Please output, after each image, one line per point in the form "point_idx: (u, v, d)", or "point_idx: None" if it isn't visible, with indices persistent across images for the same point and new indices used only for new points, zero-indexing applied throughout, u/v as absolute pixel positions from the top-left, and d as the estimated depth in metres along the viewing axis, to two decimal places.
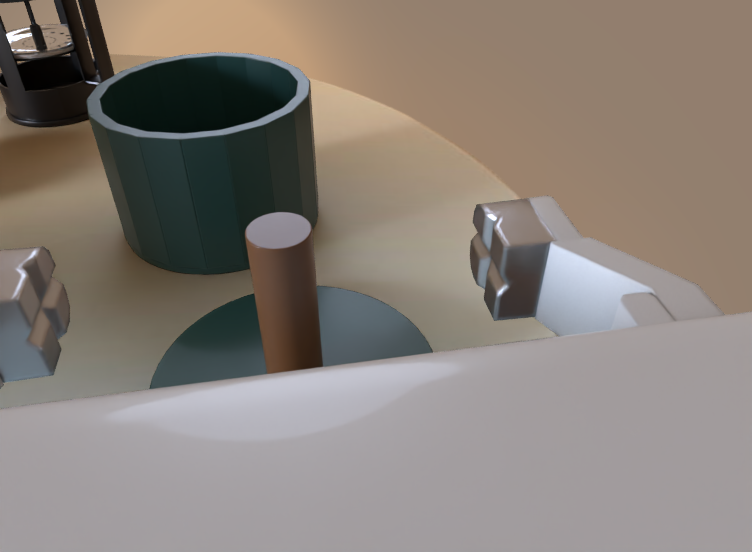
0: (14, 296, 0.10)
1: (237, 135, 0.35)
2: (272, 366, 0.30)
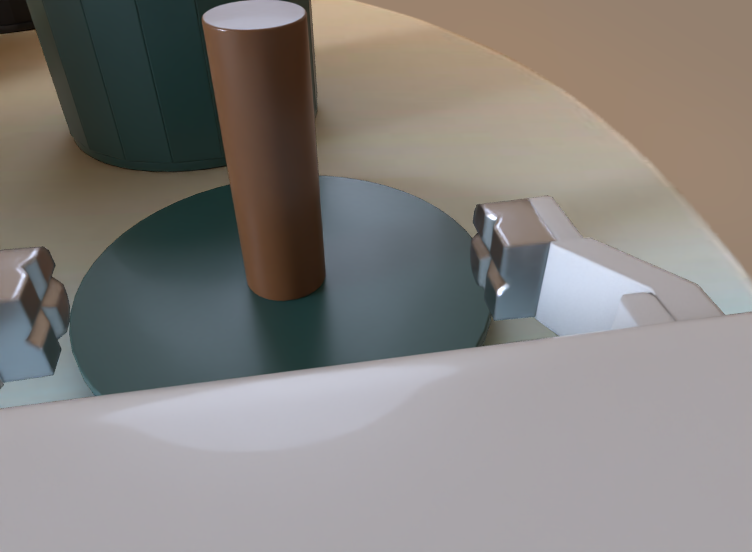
0: (14, 297, 0.10)
1: None
2: (250, 252, 0.21)
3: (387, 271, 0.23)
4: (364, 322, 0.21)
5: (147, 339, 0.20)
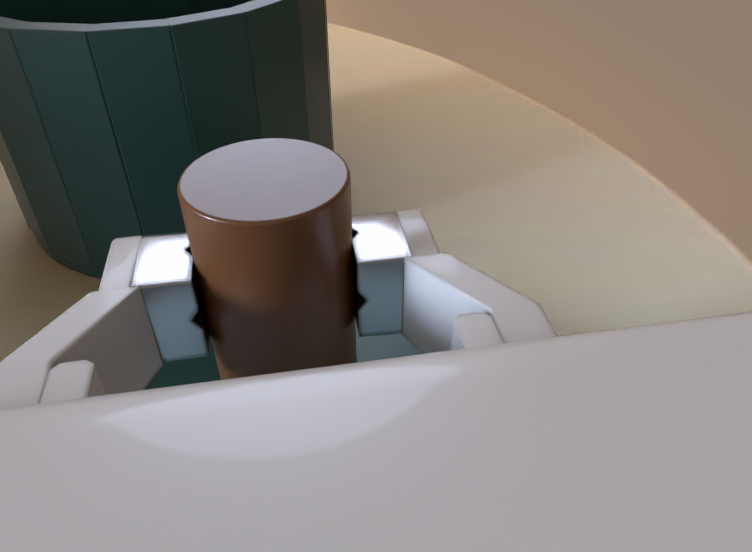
0: (187, 279, 0.10)
1: (195, 29, 0.19)
2: None
3: None
4: None
5: None
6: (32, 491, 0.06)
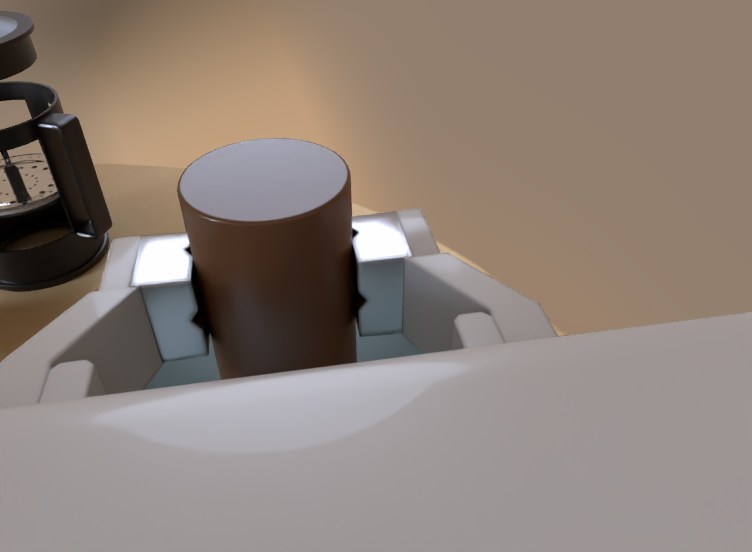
0: (187, 279, 0.10)
1: None
2: None
3: None
4: None
5: None
6: (32, 491, 0.06)
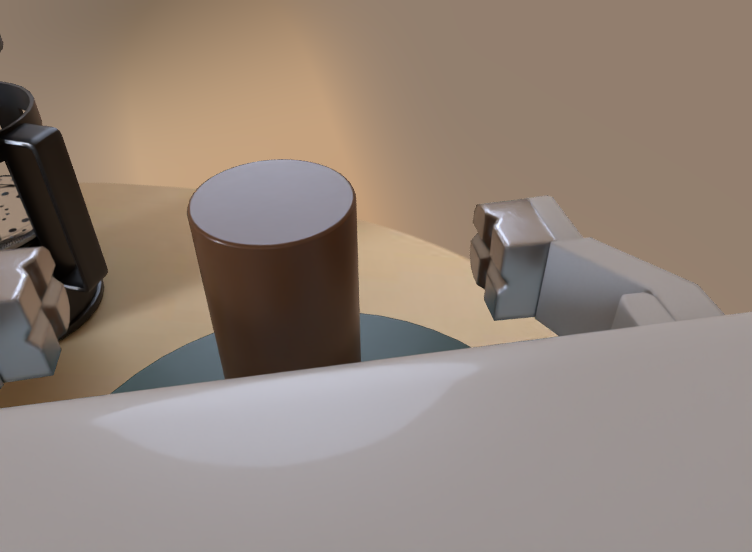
0: (14, 297, 0.10)
1: None
2: None
3: None
4: None
5: None
6: (32, 491, 0.06)
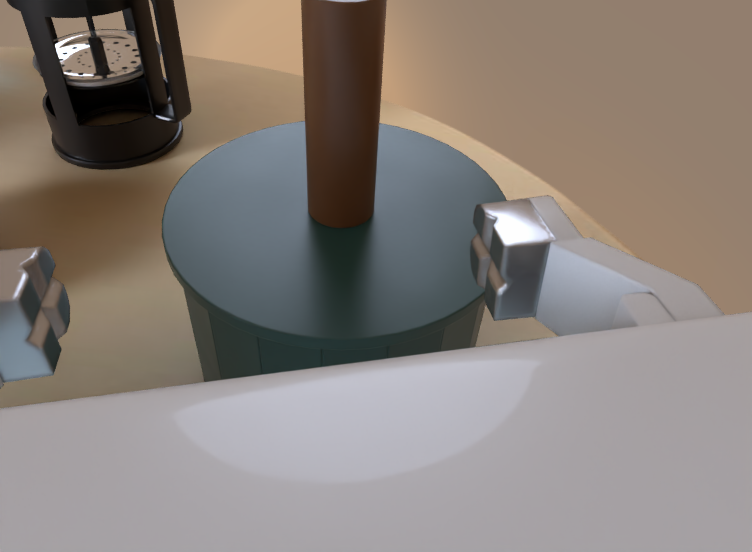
0: (14, 297, 0.10)
1: None
2: (315, 184, 0.25)
3: (426, 212, 0.27)
4: (404, 252, 0.25)
5: (225, 247, 0.25)
6: (32, 491, 0.06)
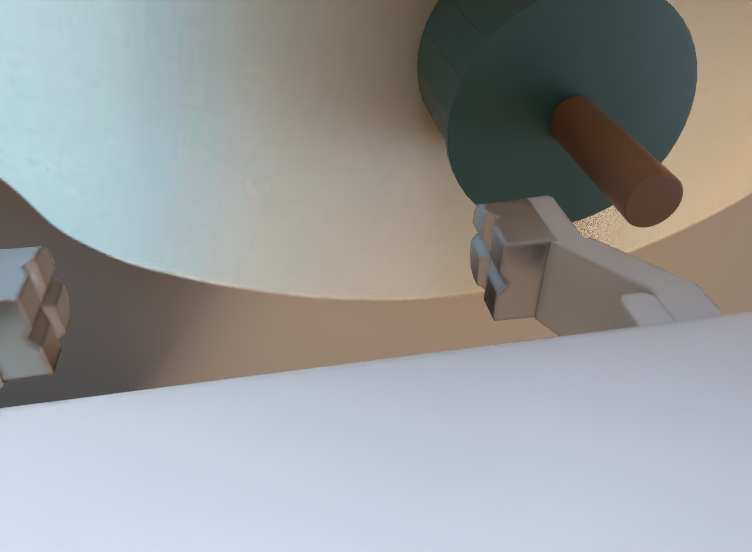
0: (14, 297, 0.10)
1: None
2: (579, 113, 0.34)
3: (543, 174, 0.38)
4: (512, 150, 0.36)
5: (565, 30, 0.33)
6: (32, 491, 0.06)
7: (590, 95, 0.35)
